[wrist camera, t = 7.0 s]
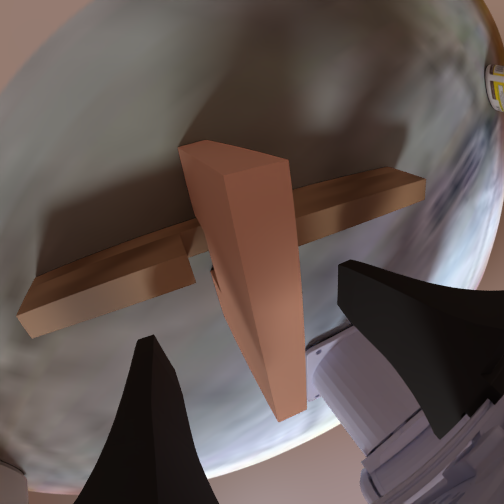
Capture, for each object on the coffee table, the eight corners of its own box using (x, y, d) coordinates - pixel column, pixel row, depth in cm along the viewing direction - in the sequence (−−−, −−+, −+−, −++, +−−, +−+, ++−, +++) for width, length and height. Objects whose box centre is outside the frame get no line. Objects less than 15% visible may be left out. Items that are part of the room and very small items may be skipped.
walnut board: (387, 166, 15) (425, 178, 12) (387, 185, 15) (424, 199, 13) (35, 277, 10) (16, 316, 7) (46, 297, 10) (31, 338, 8)
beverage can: (-19, 451, 11) (-18, 526, 1) (21, 466, 14) (28, 544, 5) (-5, 467, 13) (-1, 533, 3) (31, 480, 16) (40, 547, 6)
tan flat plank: (177, 147, 10) (222, 175, 4) (205, 139, 10) (288, 160, 5) (223, 315, 15) (278, 422, 9) (244, 308, 15) (306, 409, 9)
